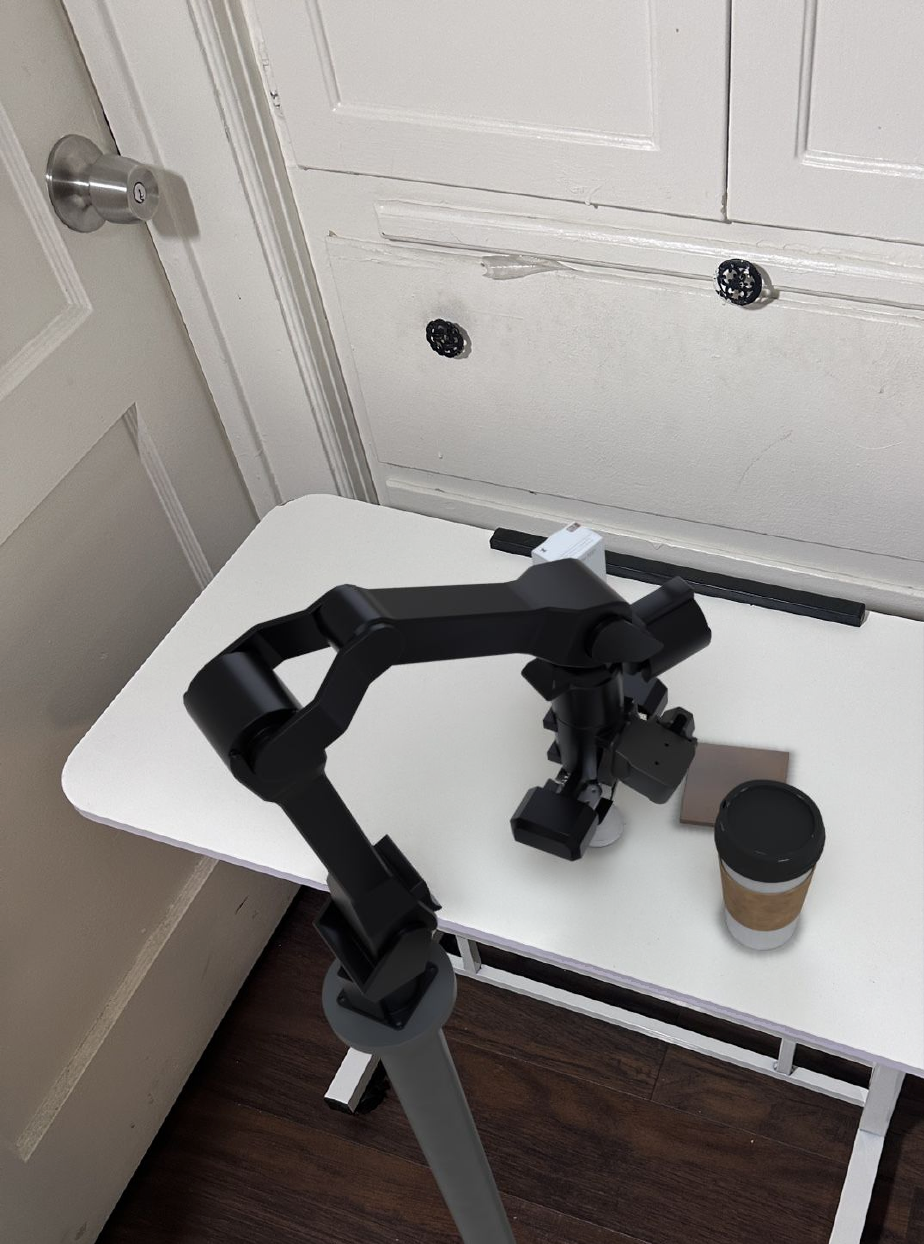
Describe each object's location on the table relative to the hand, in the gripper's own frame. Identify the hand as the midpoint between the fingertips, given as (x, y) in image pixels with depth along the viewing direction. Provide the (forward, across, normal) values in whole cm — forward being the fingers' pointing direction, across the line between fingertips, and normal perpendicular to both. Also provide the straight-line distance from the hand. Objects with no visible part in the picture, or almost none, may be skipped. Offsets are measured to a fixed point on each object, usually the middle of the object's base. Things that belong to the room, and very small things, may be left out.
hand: (597, 816), depth 108 cm
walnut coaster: (+2, +9, -10) cm, 13 cm away
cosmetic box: (+2, +21, +12) cm, 24 cm away
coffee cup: (+2, -3, -17) cm, 17 cm away
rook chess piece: (+2, 0, 0) cm, 2 cm away
